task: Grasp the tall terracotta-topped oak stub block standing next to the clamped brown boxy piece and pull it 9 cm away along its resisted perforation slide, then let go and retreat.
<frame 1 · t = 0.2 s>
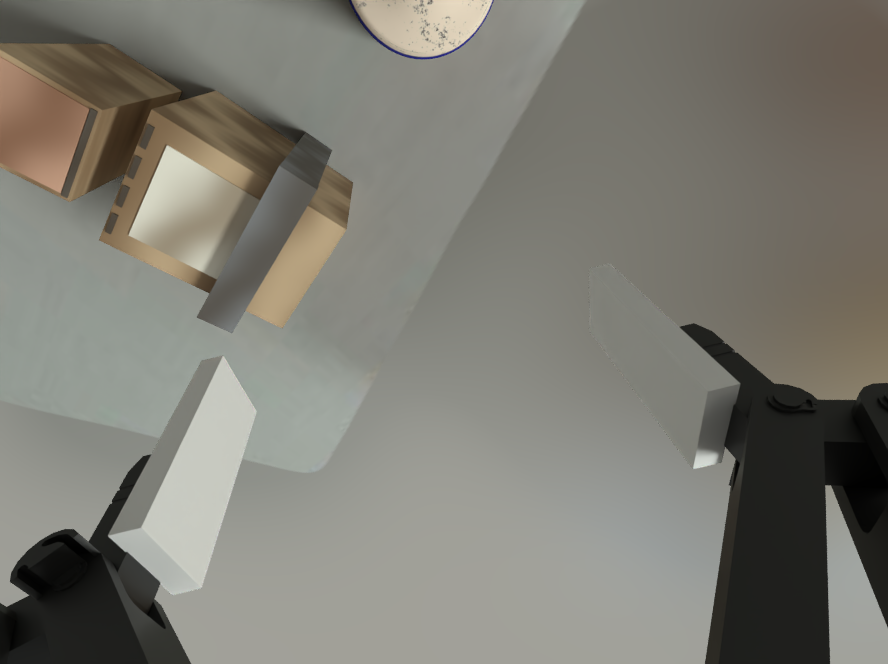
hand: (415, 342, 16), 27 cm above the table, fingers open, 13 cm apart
stub: (91, 115, 29), point 6 cm above the table, slide at 0.0 cm
brown boxy piece: (264, 185, 38), on the table
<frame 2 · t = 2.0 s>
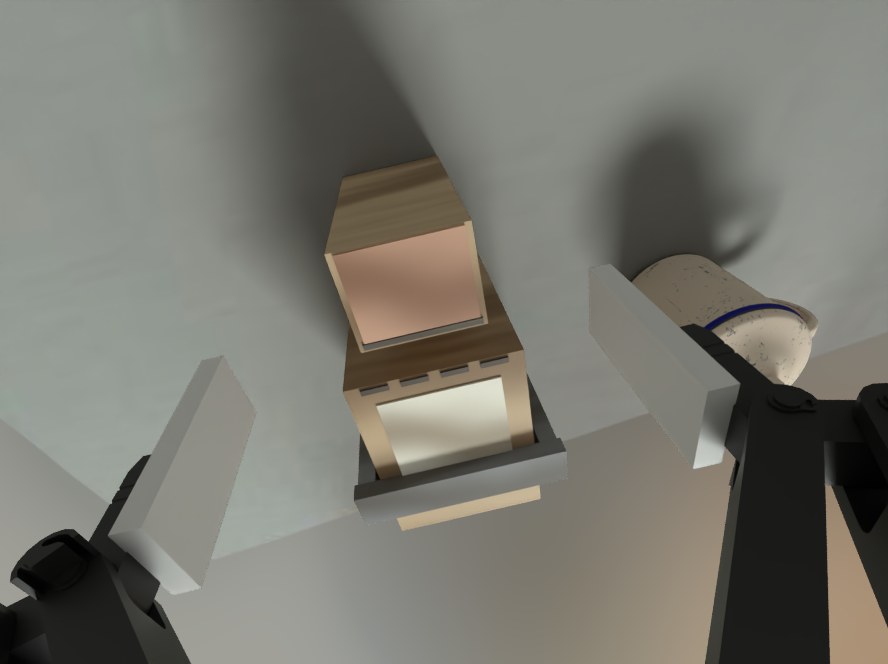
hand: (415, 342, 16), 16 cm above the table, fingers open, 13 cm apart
stub: (404, 240, 24), point 6 cm above the table, slide at 0.0 cm
teacup with lid: (682, 297, 36), on the table
brown boxy piece: (432, 334, 35), on the table
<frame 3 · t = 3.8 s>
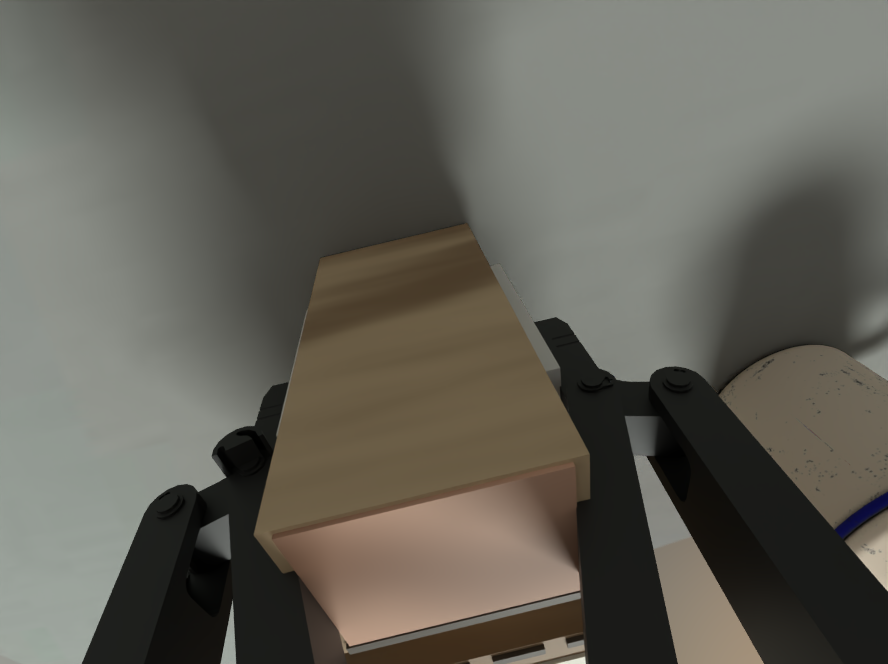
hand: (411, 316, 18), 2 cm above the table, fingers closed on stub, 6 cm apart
stub: (421, 384, 14), point 6 cm above the table, slide at 0.0 cm, touching gripper
teacup with lid: (794, 394, 26), on the table
brown boxy piece: (452, 454, 25), on the table
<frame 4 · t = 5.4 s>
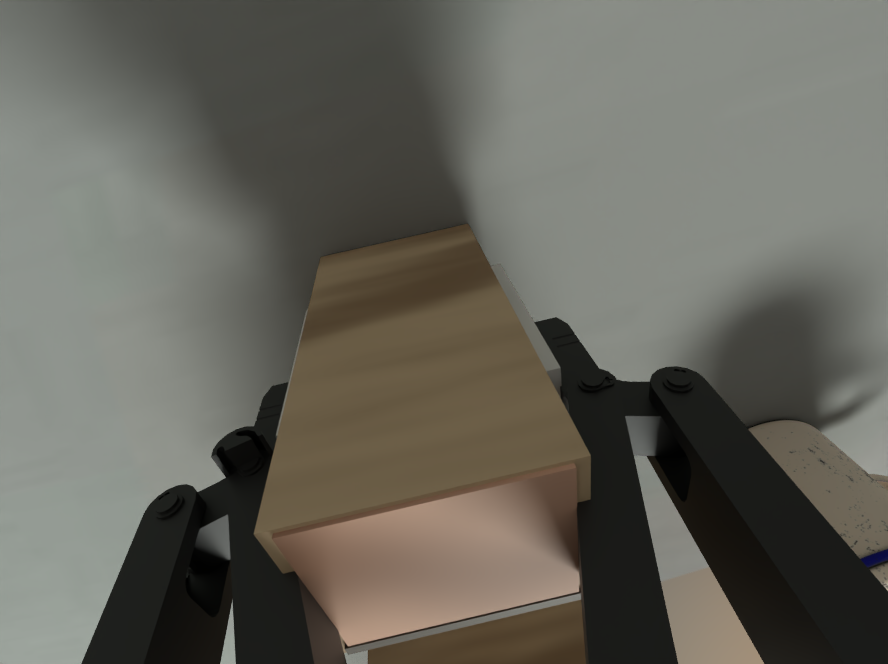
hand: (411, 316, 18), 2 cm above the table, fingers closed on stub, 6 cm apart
stub: (421, 384, 14), point 6 cm above the table, slide at 5.5 cm, touching gripper
teacup with lid: (770, 458, 30), on the table
brown boxy piece: (465, 512, 28), on the table
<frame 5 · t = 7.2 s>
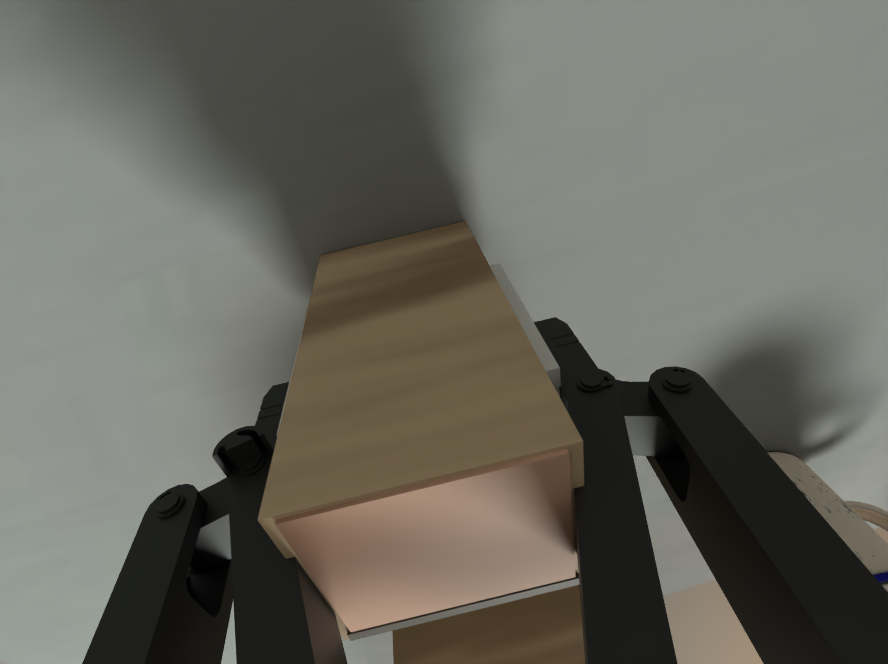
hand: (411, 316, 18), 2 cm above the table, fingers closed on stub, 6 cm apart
stub: (420, 378, 14), point 6 cm above the table, slide at 9.1 cm, touching gripper
teacup with lid: (759, 484, 32), on the table
brown boxy piece: (475, 539, 30), on the table
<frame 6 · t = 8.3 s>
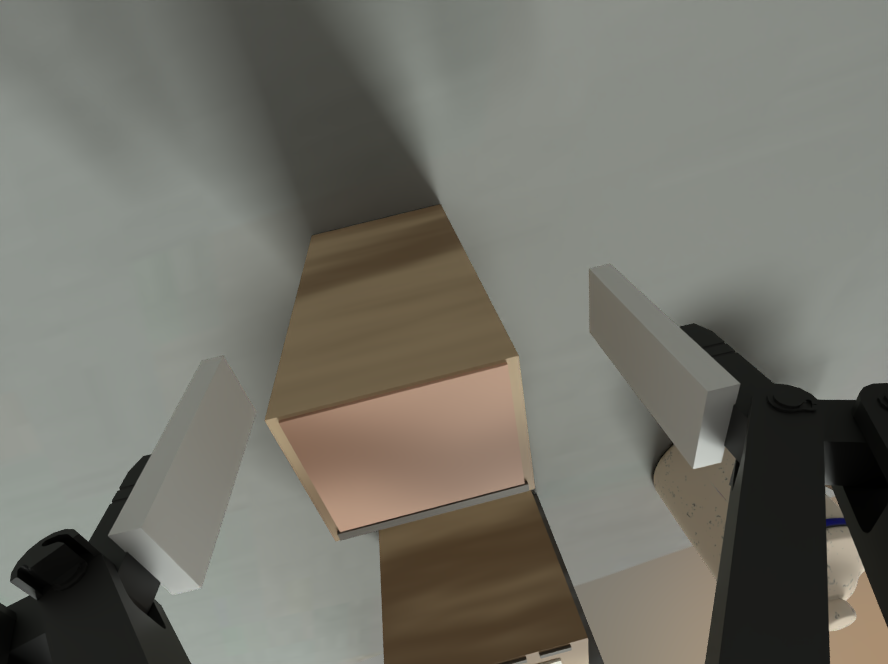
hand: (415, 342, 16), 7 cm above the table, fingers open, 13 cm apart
stub: (399, 336, 17), point 6 cm above the table, slide at 9.1 cm
teacup with lid: (721, 453, 34), on the table
brown boxy piece: (459, 507, 32), on the table
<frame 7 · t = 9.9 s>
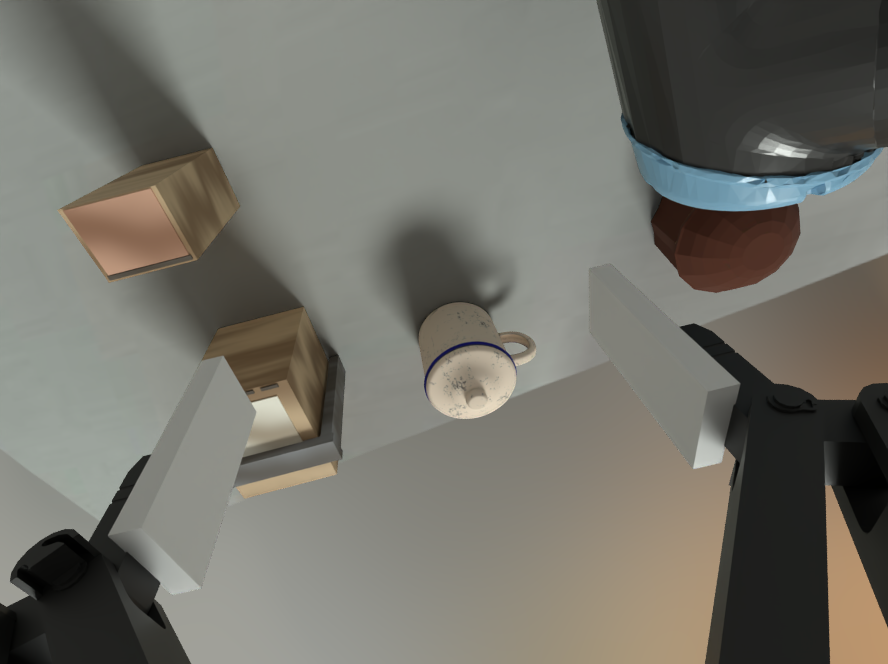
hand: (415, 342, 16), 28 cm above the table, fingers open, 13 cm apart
stub: (166, 207, 33), point 6 cm above the table, slide at 9.1 cm
teacup with lid: (468, 330, 50), on the table
muffin: (690, 214, 47), on the table
brown boxy piece: (284, 362, 49), on the table
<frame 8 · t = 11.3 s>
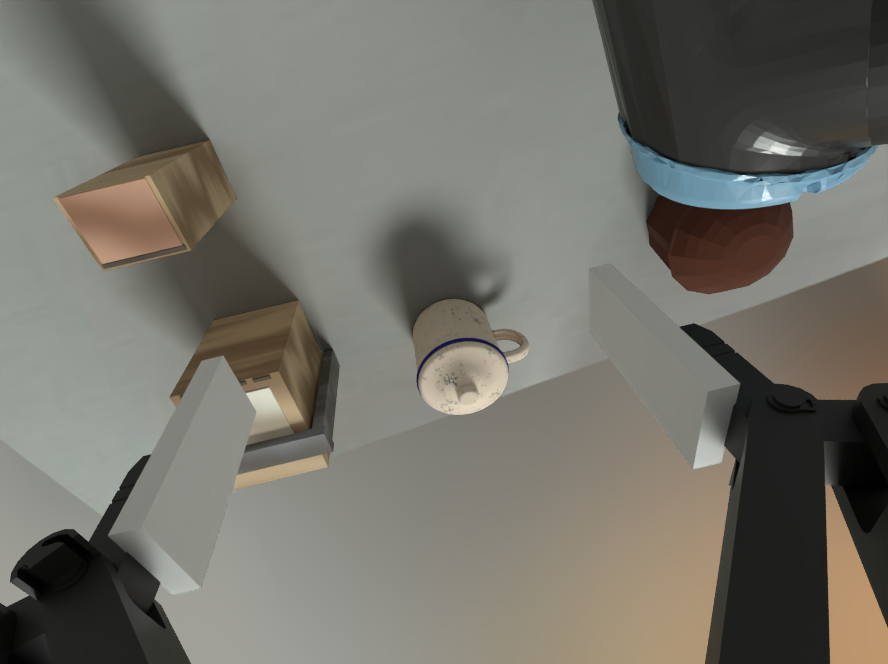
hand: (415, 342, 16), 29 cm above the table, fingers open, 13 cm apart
stub: (161, 198, 33), point 6 cm above the table, slide at 9.1 cm
teacup with lid: (462, 327, 51), on the table
muffin: (686, 216, 47), on the table
brown boxy piece: (279, 355, 49), on the table
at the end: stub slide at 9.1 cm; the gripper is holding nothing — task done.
